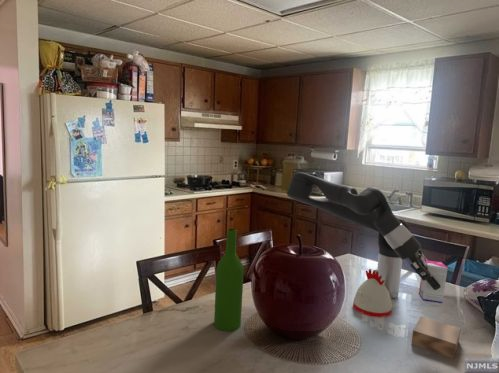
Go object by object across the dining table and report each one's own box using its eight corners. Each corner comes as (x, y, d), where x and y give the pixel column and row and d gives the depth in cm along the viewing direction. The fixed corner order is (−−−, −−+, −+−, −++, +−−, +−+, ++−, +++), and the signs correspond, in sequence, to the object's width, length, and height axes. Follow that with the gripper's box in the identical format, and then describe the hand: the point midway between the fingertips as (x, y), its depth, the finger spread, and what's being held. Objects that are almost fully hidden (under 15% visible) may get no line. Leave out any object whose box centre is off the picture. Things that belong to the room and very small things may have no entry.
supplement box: (443, 303, 112) (448, 267, 111) (422, 301, 114) (427, 265, 112) (438, 296, 118) (442, 261, 116) (418, 293, 119) (422, 259, 118)
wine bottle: (245, 321, 125) (250, 228, 121) (233, 334, 117) (237, 234, 113) (222, 315, 129) (226, 224, 125) (209, 326, 121) (212, 230, 117)
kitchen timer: (369, 297, 150) (372, 262, 148) (398, 312, 139) (403, 273, 137) (345, 304, 143) (349, 267, 141) (375, 320, 131) (379, 280, 129)
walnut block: (411, 345, 117) (413, 330, 116) (419, 330, 127) (420, 316, 126) (453, 359, 110) (456, 344, 109) (458, 342, 120) (460, 328, 119)
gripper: (394, 242, 126) (428, 283, 122) (389, 253, 113) (426, 298, 110) (413, 229, 123) (448, 271, 119) (409, 239, 110) (449, 285, 107)
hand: (438, 284), depth 114 cm, fingers closed on supplement box, 7 cm apart
